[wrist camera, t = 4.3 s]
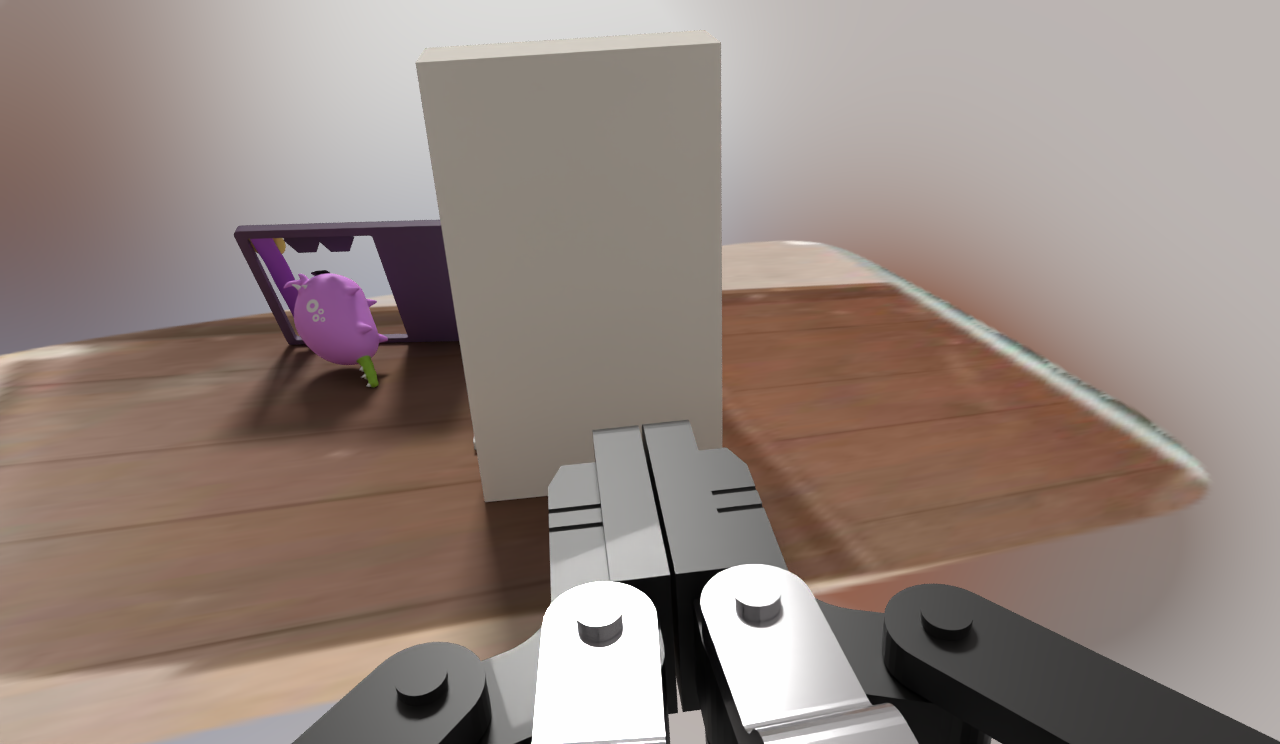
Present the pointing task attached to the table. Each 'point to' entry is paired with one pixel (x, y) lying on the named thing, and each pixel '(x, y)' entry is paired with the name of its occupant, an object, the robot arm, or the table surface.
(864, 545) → the table surface
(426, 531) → the table surface
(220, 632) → the table surface
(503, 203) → the off-white rectangular block
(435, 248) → the purple frame
